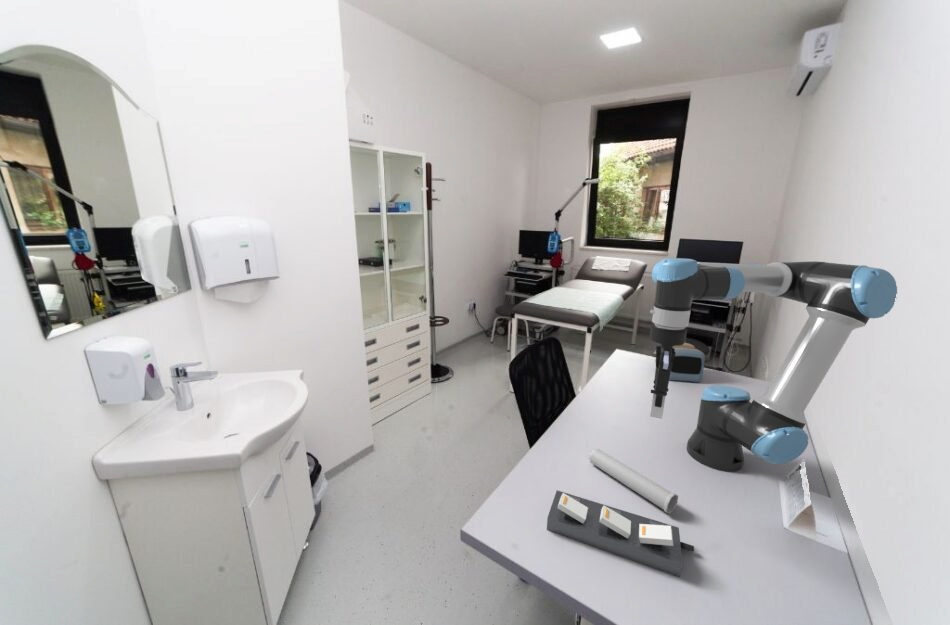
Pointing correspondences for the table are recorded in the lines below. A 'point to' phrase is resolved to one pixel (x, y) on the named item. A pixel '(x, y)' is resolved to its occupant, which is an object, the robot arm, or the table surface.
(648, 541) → the block
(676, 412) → the table surface
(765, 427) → the robot arm
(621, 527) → the block
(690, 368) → the alarm clock
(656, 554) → the power strip
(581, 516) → the block
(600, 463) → the tube
